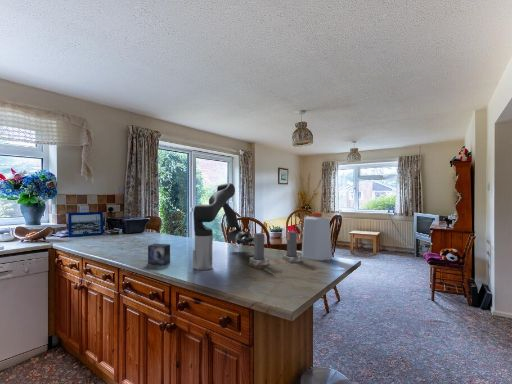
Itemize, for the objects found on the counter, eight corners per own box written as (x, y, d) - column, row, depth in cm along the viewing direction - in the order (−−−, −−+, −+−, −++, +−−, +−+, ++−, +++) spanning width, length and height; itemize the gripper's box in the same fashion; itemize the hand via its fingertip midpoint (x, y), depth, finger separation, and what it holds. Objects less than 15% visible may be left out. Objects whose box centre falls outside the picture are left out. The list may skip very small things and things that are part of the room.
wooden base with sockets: (255, 268, 145) (255, 261, 145) (249, 264, 153) (249, 257, 153) (302, 264, 155) (302, 256, 155) (294, 260, 163) (294, 253, 163)
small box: (147, 264, 153) (147, 245, 153) (154, 261, 159) (154, 243, 159) (164, 265, 150) (164, 246, 150) (170, 262, 157) (170, 244, 157)
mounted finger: (289, 261, 155) (289, 232, 155) (286, 259, 158) (286, 231, 159) (296, 260, 156) (296, 232, 156) (293, 259, 160) (293, 231, 160)
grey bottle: (318, 263, 156) (319, 213, 156) (298, 258, 167) (298, 212, 168) (334, 259, 165) (334, 212, 166) (314, 255, 177) (314, 211, 177)
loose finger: (256, 264, 148) (257, 234, 148) (254, 262, 151) (254, 233, 151) (264, 263, 149) (265, 233, 149) (261, 261, 153) (262, 232, 153)
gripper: (232, 232, 173) (240, 236, 158) (253, 231, 178) (263, 235, 163) (232, 244, 173) (240, 249, 158) (253, 243, 178) (263, 248, 163)
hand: (252, 242), depth 161 cm, fingers open, 8 cm apart
